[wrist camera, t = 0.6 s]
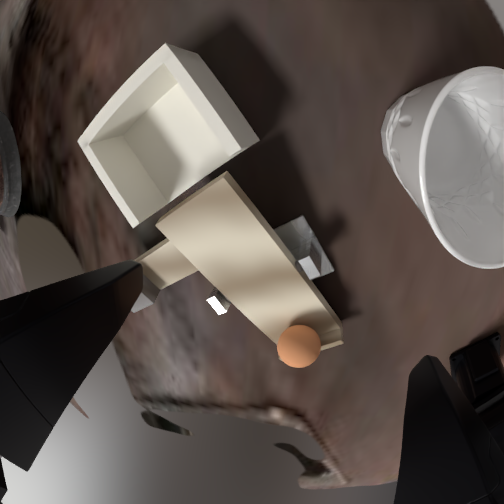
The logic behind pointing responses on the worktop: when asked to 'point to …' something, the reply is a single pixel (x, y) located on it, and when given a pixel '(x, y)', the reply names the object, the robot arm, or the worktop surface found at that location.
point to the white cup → (454, 160)
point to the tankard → (9, 169)
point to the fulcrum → (301, 247)
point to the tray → (164, 132)
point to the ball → (299, 346)
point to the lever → (237, 263)
